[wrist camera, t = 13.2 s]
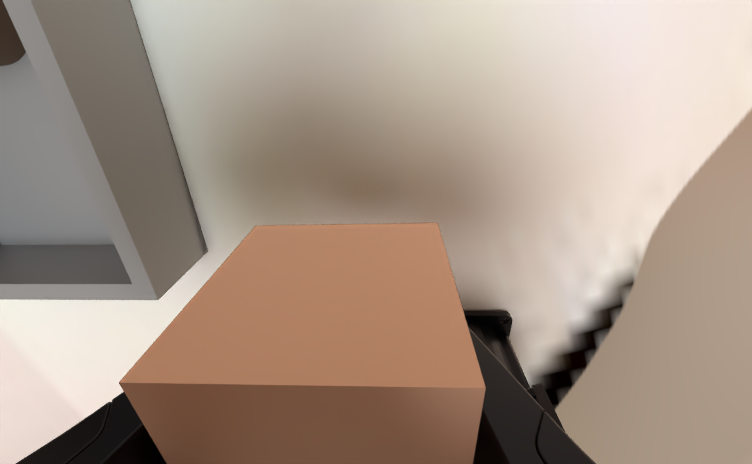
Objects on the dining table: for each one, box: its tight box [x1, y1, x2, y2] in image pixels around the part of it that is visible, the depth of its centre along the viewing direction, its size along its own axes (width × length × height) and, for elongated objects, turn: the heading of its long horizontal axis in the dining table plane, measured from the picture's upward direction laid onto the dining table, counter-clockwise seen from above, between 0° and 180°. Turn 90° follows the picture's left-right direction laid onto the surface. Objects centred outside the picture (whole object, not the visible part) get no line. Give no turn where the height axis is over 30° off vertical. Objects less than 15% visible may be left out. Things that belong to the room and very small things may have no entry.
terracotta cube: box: [119, 223, 486, 464], centre depth 8 cm, size 5×5×5 cm
